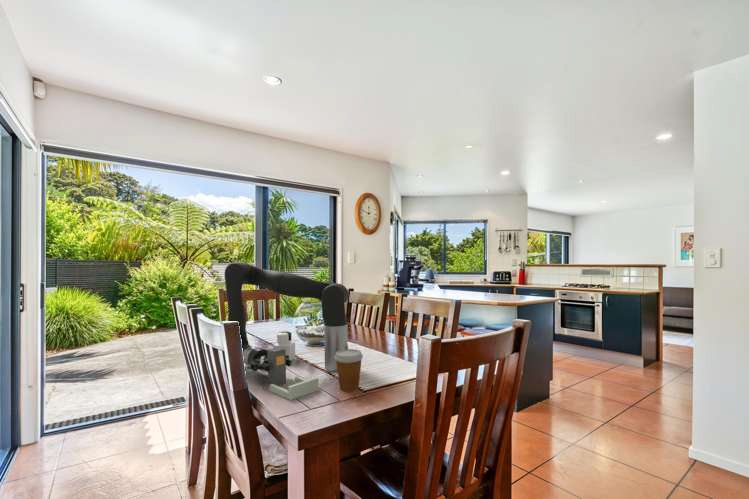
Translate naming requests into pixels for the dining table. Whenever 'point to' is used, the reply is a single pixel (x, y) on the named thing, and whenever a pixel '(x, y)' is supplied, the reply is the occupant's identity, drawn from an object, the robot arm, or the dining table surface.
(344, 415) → the dining table surface
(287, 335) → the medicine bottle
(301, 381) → the mount
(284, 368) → the tall gray pillar block
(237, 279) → the robot arm
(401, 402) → the dining table surface
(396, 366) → the dining table surface
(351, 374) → the disposable coffee cup
